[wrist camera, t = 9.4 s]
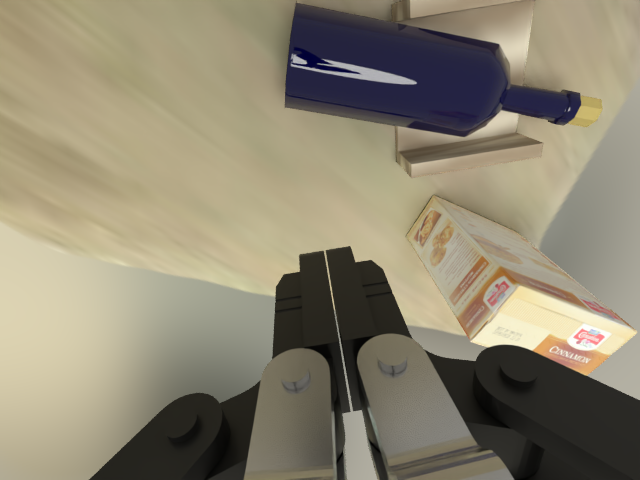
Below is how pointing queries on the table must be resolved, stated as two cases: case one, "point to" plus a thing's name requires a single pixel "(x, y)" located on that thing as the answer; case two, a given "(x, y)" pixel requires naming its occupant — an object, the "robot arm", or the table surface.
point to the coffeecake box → (513, 290)
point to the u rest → (500, 133)
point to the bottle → (411, 76)
